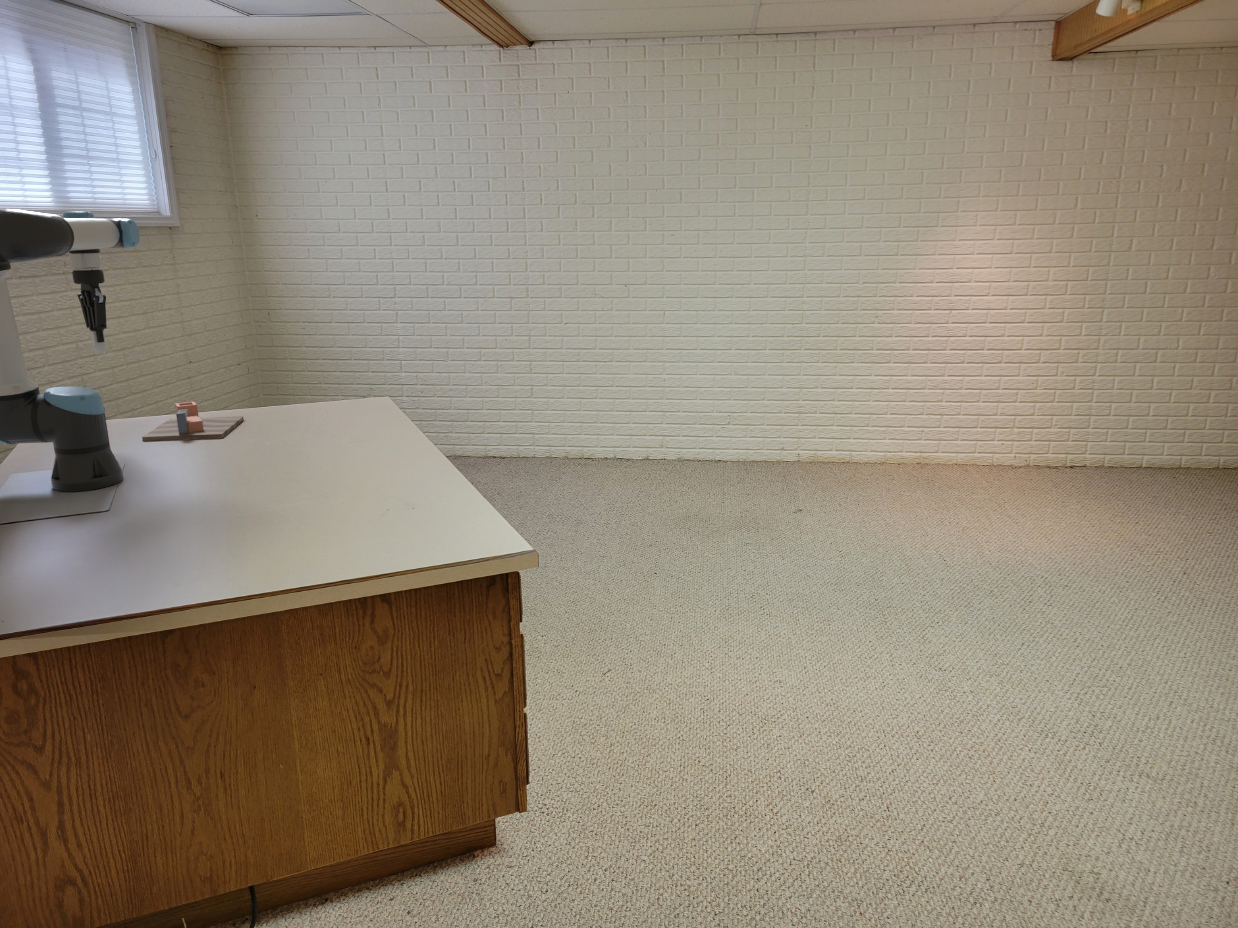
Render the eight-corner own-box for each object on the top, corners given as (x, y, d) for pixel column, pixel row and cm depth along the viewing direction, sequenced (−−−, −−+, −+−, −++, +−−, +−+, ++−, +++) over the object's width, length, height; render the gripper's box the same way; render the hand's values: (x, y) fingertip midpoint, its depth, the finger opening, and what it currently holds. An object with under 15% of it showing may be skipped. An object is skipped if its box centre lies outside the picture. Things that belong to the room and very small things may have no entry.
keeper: (188, 437, 262) (185, 413, 260) (179, 438, 261) (176, 413, 259) (191, 433, 267) (187, 409, 265) (182, 433, 266) (178, 409, 264)
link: (206, 430, 266) (203, 410, 264) (186, 432, 263) (183, 412, 261) (196, 420, 279) (193, 401, 277) (177, 422, 276) (174, 403, 274)
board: (222, 438, 261) (221, 434, 261) (142, 441, 258) (142, 437, 258) (243, 420, 284) (243, 416, 284) (170, 422, 281) (170, 418, 281)
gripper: (111, 269, 247) (124, 354, 253) (91, 267, 255) (104, 350, 261) (82, 270, 241) (96, 357, 247) (63, 269, 249) (76, 353, 255)
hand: (100, 353), depth 254 cm, fingers closed
